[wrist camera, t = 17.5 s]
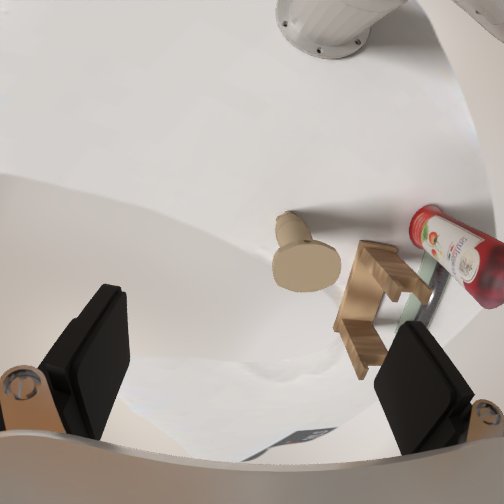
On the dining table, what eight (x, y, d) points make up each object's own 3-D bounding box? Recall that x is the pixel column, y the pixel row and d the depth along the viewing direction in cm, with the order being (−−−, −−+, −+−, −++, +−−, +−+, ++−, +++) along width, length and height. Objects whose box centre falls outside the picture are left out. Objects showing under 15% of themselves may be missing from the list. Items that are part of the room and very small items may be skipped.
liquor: (434, 250, 45) (550, 354, 19) (398, 243, 45) (516, 359, 19) (447, 207, 43) (582, 289, 17) (411, 196, 42) (554, 283, 16)
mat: (425, 250, 45) (426, 251, 45) (455, 256, 46) (457, 257, 46) (394, 332, 51) (395, 333, 51) (424, 333, 52) (425, 334, 51)
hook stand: (359, 240, 44) (397, 281, 32) (394, 246, 45) (437, 286, 33) (332, 327, 50) (354, 383, 38) (365, 330, 51) (392, 382, 38)
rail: (435, 255, 45) (444, 262, 43) (447, 257, 46) (456, 264, 43) (405, 332, 51) (411, 342, 48) (417, 333, 51) (423, 342, 48)
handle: (309, 238, 44) (338, 290, 30) (263, 239, 44) (272, 293, 30) (311, 204, 42) (343, 243, 28) (263, 204, 42) (273, 245, 28)
